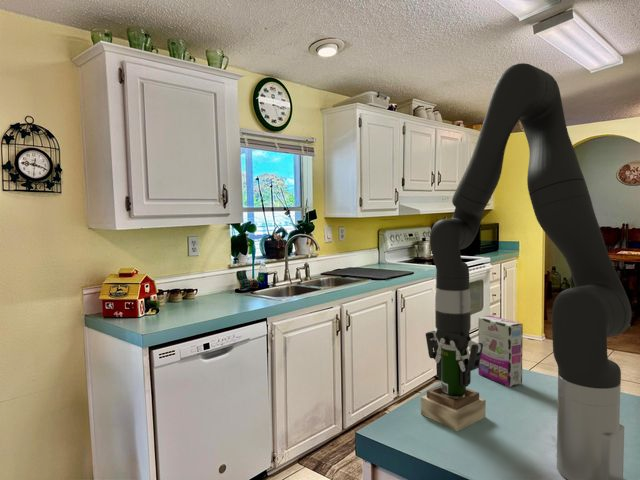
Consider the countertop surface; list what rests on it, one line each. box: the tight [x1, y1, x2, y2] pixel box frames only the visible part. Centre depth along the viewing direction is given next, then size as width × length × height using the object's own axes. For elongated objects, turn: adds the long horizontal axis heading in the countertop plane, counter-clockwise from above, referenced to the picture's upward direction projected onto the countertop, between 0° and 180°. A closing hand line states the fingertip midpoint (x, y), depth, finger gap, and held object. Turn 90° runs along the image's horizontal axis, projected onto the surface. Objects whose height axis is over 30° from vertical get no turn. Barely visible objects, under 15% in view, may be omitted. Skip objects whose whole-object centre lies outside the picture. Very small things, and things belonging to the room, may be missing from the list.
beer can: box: [440, 343, 467, 399], centre depth 98 cm, size 5×5×12 cm
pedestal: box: [420, 384, 487, 432], centre depth 99 cm, size 10×10×6 cm
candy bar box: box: [477, 315, 524, 388], centre depth 119 cm, size 11×5×16 cm, turn 25°
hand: (453, 381), depth 99 cm, fingers closed on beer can, 5 cm apart
